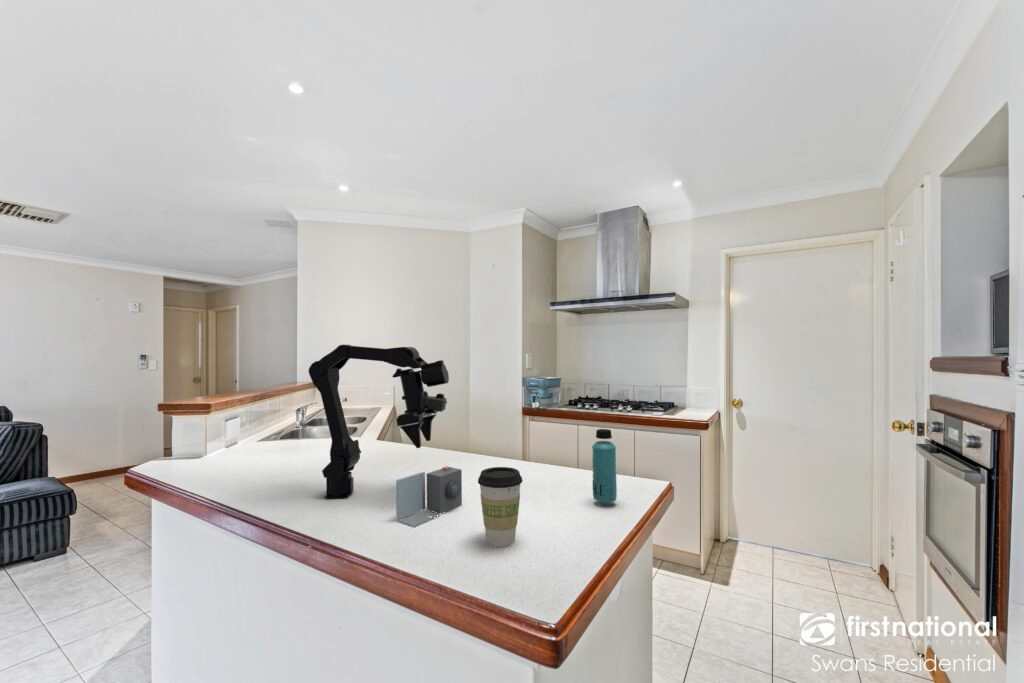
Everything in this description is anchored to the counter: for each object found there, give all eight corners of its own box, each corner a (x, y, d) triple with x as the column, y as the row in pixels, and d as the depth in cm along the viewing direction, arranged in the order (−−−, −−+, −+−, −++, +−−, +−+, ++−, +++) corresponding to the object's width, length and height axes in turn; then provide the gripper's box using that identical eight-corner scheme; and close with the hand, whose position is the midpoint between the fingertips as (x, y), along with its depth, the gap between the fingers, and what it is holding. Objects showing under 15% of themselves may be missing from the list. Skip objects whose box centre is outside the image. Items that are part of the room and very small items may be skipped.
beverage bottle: (619, 501, 122) (618, 428, 122) (614, 510, 116) (613, 432, 116) (595, 498, 125) (595, 426, 125) (589, 506, 119) (588, 430, 119)
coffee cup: (489, 555, 91) (489, 481, 92) (471, 537, 100) (470, 469, 100) (531, 544, 96) (530, 474, 96) (510, 528, 105) (509, 464, 105)
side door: (396, 518, 110) (396, 479, 110) (422, 507, 117) (422, 471, 117) (399, 519, 109) (399, 480, 109) (426, 508, 116) (425, 472, 116)
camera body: (398, 522, 109) (397, 480, 109) (448, 501, 123) (447, 464, 123) (416, 528, 105) (415, 484, 106) (465, 506, 120) (465, 467, 120)
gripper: (431, 387, 117) (442, 446, 117) (448, 382, 136) (458, 432, 135) (390, 395, 119) (402, 454, 118) (413, 389, 137) (423, 439, 137)
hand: (423, 444), depth 127 cm, fingers open, 9 cm apart
